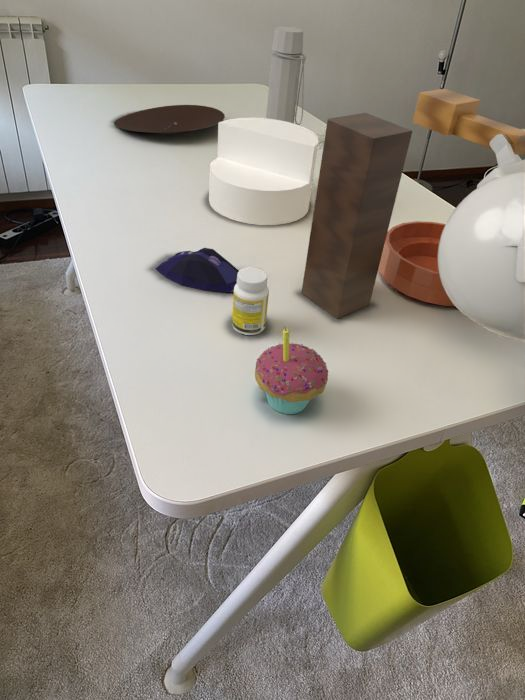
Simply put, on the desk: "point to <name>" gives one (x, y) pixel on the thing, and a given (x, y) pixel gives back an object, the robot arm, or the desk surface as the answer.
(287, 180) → the white stepped cylinder
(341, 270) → the stand
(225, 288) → the computer mouse
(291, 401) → the cupcake
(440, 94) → the wooden t-shaped block
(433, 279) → the bowl
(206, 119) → the plate
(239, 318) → the supplement bottle
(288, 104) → the water bottle
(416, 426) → the desk surface
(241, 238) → the desk surface
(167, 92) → the desk surface
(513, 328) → the robot arm
